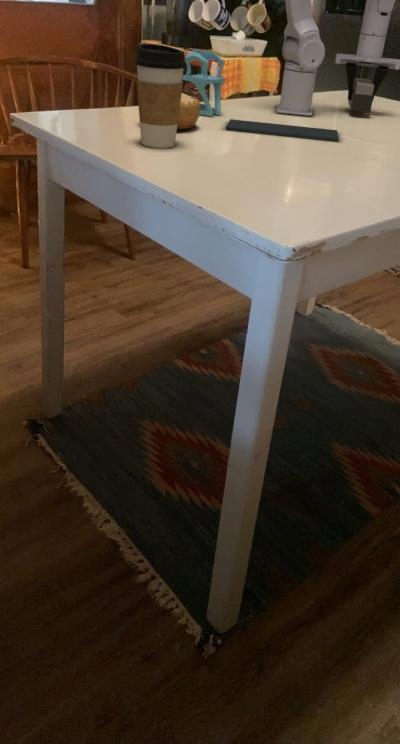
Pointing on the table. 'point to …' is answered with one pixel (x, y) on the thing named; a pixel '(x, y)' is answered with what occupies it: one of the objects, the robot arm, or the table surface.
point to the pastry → (188, 112)
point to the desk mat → (283, 130)
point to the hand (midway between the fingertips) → (359, 100)
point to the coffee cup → (159, 93)
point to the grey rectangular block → (362, 95)
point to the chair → (206, 80)
